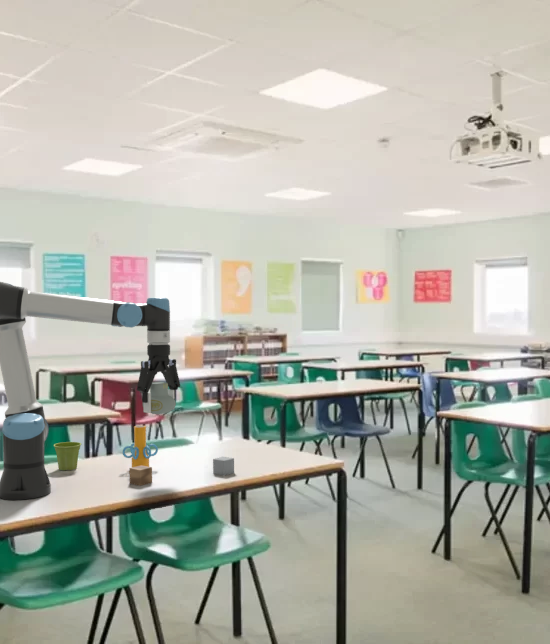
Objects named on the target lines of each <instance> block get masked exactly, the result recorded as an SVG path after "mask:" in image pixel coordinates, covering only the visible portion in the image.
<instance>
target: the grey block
mask: <svg viewBox="0 0 550 644" xmlns="http://www.w3.org/2000/svg"><path fill="white" fill-rule="evenodd" d="M212 470H213V471H212V472H213V473H212V474H214V475H220V476H228V475H231V474H235V458H234V457H227V456H219V457H215V458H213V459H212Z"/></svg>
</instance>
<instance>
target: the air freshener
mask: <svg viewBox="0 0 550 644" xmlns="http://www.w3.org/2000/svg"><path fill="white" fill-rule="evenodd" d="M168 390H169V387H168V383H166V381H165V382H163V381H160V382H157V381H156V382H152V385H151V387H150V390H149V393H151V413H150V414H152V415H163V414H169V413H171V412H172V411H173V410H175V409H174V408H175V407H176V400H175V399H174V398H172V397H171V396H169V395H168ZM142 407H143V409H144V403H143V402H142Z"/></svg>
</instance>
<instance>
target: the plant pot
mask: <svg viewBox="0 0 550 644" xmlns="http://www.w3.org/2000/svg"><path fill="white" fill-rule="evenodd" d="M81 446H82V443H81V442H78V441H66V442H63V441H62V442H58V443H54V444H53V447H54V450H55V453H56V454H55V455H56V460H57V466H58V470H60V471H68V470H69V471H73V470H74V471H75V470H77V467H78V461H79V454H80V453H79V452H80V449H81Z"/></svg>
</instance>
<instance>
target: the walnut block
mask: <svg viewBox="0 0 550 644" xmlns="http://www.w3.org/2000/svg"><path fill="white" fill-rule="evenodd" d="M128 471H129V484H131V485H134V486H139V487H141V486H145V485H149V484H152V483H153V467H152V466H149V467H147V466H142V465H141V466H137V467H132V466H131V467H129V470H128Z"/></svg>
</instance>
